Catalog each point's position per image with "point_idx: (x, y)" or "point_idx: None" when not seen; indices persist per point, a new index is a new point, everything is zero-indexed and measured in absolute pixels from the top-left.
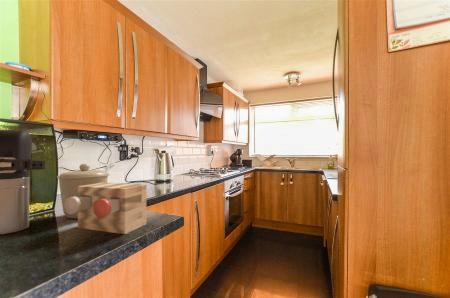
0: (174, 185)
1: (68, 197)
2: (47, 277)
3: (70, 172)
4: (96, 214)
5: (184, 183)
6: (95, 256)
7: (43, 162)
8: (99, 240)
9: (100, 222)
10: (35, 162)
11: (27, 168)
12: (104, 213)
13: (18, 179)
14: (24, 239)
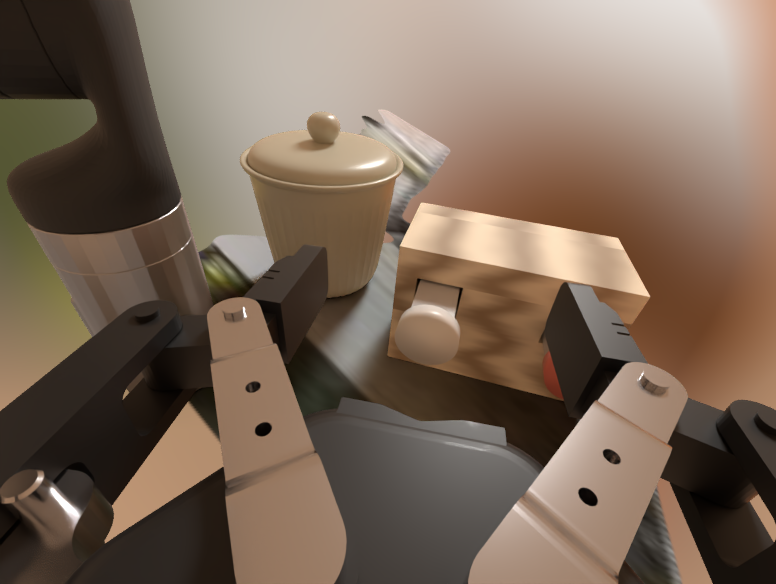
0: (404, 137)
1: None
2: None
3: (297, 156)
4: (554, 390)
5: (418, 130)
6: (664, 581)
7: (606, 306)
8: (544, 448)
9: (483, 362)
10: (640, 354)
11: (747, 509)
12: None
13: (162, 222)
14: None
